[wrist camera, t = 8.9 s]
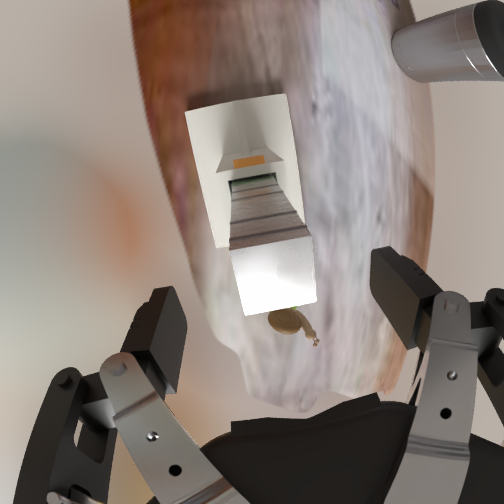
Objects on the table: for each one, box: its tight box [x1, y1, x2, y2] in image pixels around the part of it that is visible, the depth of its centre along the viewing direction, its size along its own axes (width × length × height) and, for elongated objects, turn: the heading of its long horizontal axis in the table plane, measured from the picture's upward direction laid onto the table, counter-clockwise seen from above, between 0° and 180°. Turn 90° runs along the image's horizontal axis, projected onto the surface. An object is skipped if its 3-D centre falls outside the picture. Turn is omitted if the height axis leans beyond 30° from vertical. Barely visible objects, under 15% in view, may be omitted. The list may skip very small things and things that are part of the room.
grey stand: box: [185, 94, 305, 248], centre depth 28 cm, size 18×12×14 cm, turn 10°
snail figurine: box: [268, 306, 319, 347], centre depth 37 cm, size 5×6×12 cm
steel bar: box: [229, 173, 317, 315], centre depth 19 cm, size 3×3×17 cm
